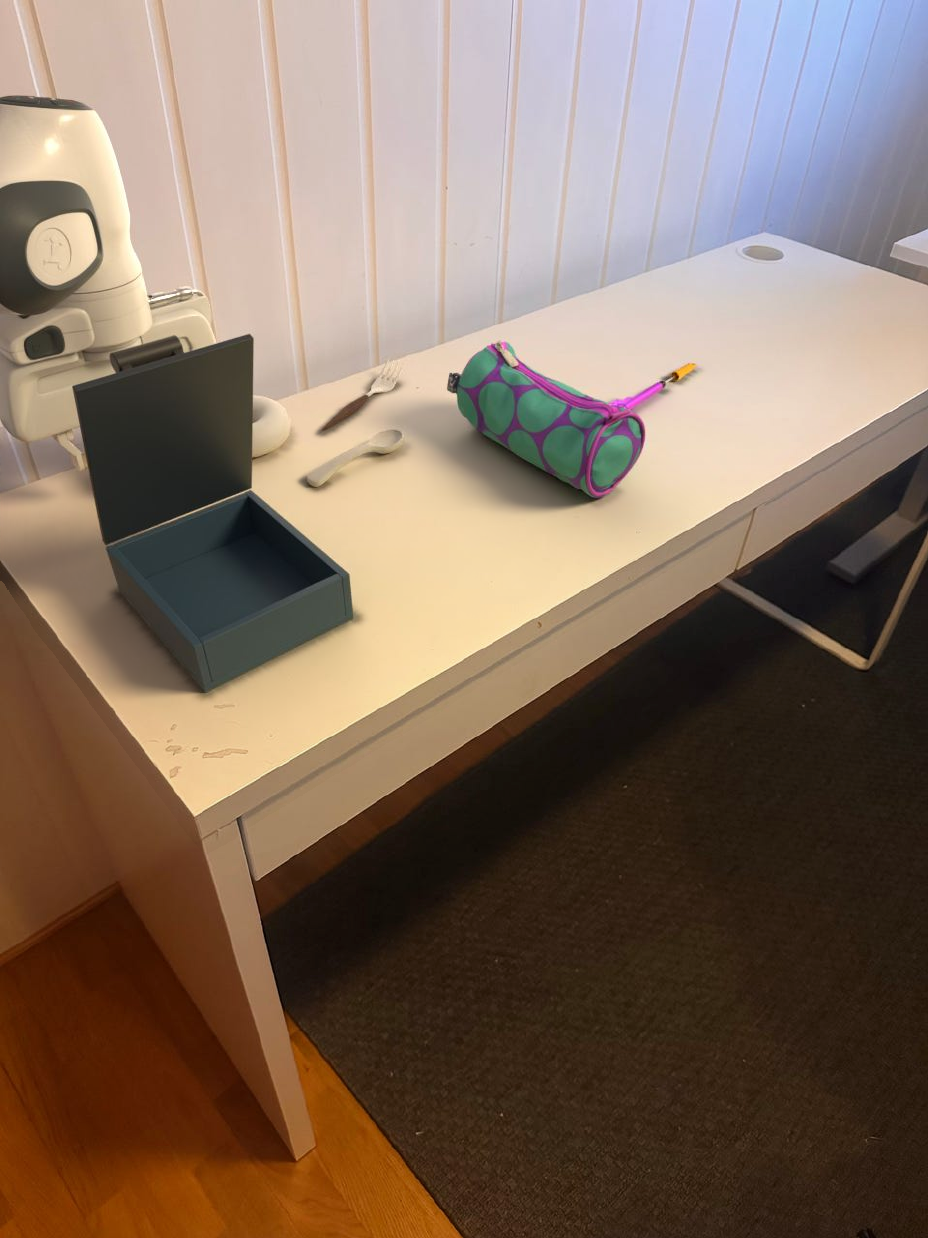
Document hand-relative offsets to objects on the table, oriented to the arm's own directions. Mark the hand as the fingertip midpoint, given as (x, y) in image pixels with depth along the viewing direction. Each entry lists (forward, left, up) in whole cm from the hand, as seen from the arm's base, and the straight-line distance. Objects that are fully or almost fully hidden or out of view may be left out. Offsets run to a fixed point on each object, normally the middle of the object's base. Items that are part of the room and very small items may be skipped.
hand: (132, 450), depth 86 cm
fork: (+24, +12, -4) cm, 27 cm away
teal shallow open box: (+8, -21, -4) cm, 23 cm away
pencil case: (+40, -3, -4) cm, 41 cm away
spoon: (+21, -1, -4) cm, 22 cm away
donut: (+10, +6, -4) cm, 13 cm away
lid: (+6, -16, +9) cm, 20 cm away
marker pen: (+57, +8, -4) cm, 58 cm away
